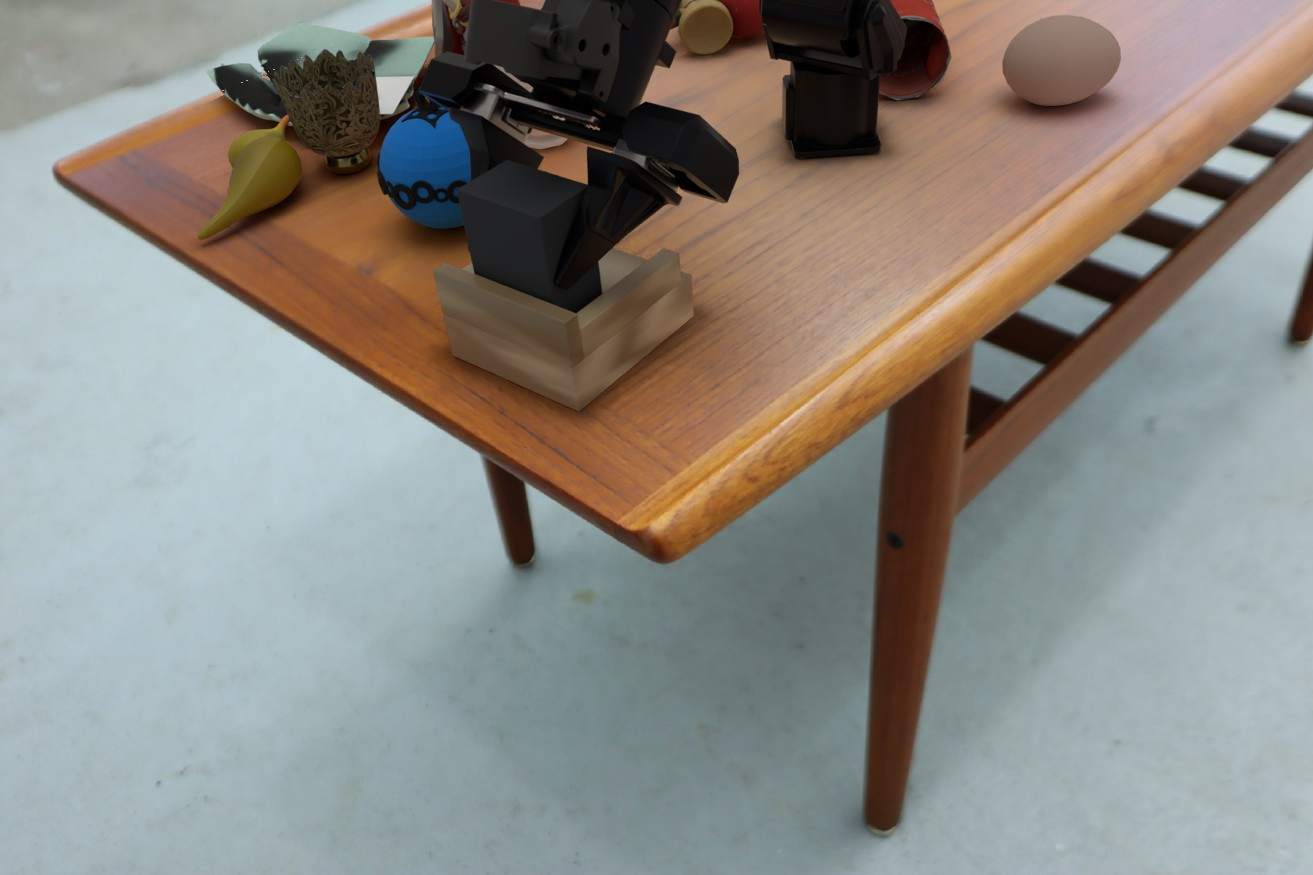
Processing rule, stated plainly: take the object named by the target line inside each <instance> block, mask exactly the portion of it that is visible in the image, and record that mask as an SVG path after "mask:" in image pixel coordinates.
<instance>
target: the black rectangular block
mask: <svg viewBox="0 0 1313 875" xmlns="http://www.w3.org/2000/svg"><path fill="white" fill-rule="evenodd" d="M587 185H588V183H584V182H581V181H577V180H574V179H571V178H567V177H565V176H561V175H559V174H556V173H555V174H554V173H552V172H548V171H545V170H542V169H539V168H538V169H536V168H532V167H529V166H526V165H523V164H519V163H516V162H513V161H510V160H506V161H504V162H502V163H501V164H499V165H497V166H496V167H494V168H492V169H491V170H489V171H487V172H486V173H484V174H482V175H481V176H479V177H477V178H476V179H474V180H472V181H471V182H469V183H467V184H466V185H464V186H462V187H460V188H459V189H457V193H458V198H459V203H460V208H461V212H462V217H463V222H464V225H463V226H464V231H465V236H466V241H467V247H468V246H469V250H470V252H469V254H470V260H471V262H472V265H473V269H474V274H476V275H479V276H481V277H484V278H486V279H489V280H491V281H494V282H497V283H499V284H502V285H504V286H507V287H509V288H512V289H515V290H517V291H520V292H522V293H525V294H527V295H530V296H533V297H535V298H538V299H540V300H543V301H546V302H548V303H551V304H553V305H556V306H558V307H561V308H564V309H566V310H569V311H571V312H574V313H578V312H579V311H580V310H582V309H583V308H584V307H586V306H587V305H588V304H590V303H591V302H592V301H594V300H595V299H596V298H598V297H599V296H600V295H602V286H601V278H600V270H599V262H597V263H596V264H595V265H594V266H593V267H592V268H591V269H590V270H589V271H588V272H587V273H585V274H584V275H583V276H582V277H581V278H580V279H579V280H578V281H577V282H576V283H575V284H574V285H573V286H572V287H571V288H569V289H567V290H566V289H563V288H560V287H558V286H556V285H555V284H554V282H553V280H554V276H555V272H556V269H557V265H558V262H559V258H560V255H561V252H562V250H563V247H564V245H565V242H566V240H567V237H568V235H569V232H570V230H571V227H572V224H573V222H574V219H575V217H576V214H577V212H578V209H579V207H580V204H581V202H582V199H583V197H584V194H585V192H586V189H587ZM469 250H468V251H469Z"/></svg>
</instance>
